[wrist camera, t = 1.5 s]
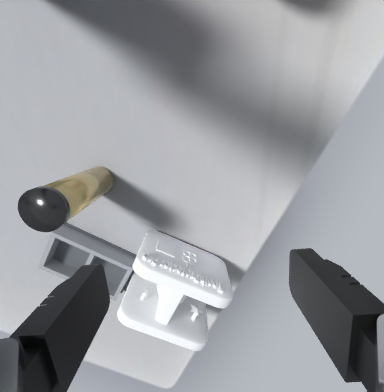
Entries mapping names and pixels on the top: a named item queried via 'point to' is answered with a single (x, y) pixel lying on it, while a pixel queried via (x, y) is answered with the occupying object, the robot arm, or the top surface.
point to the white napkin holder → (174, 291)
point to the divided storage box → (87, 257)
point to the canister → (63, 198)
